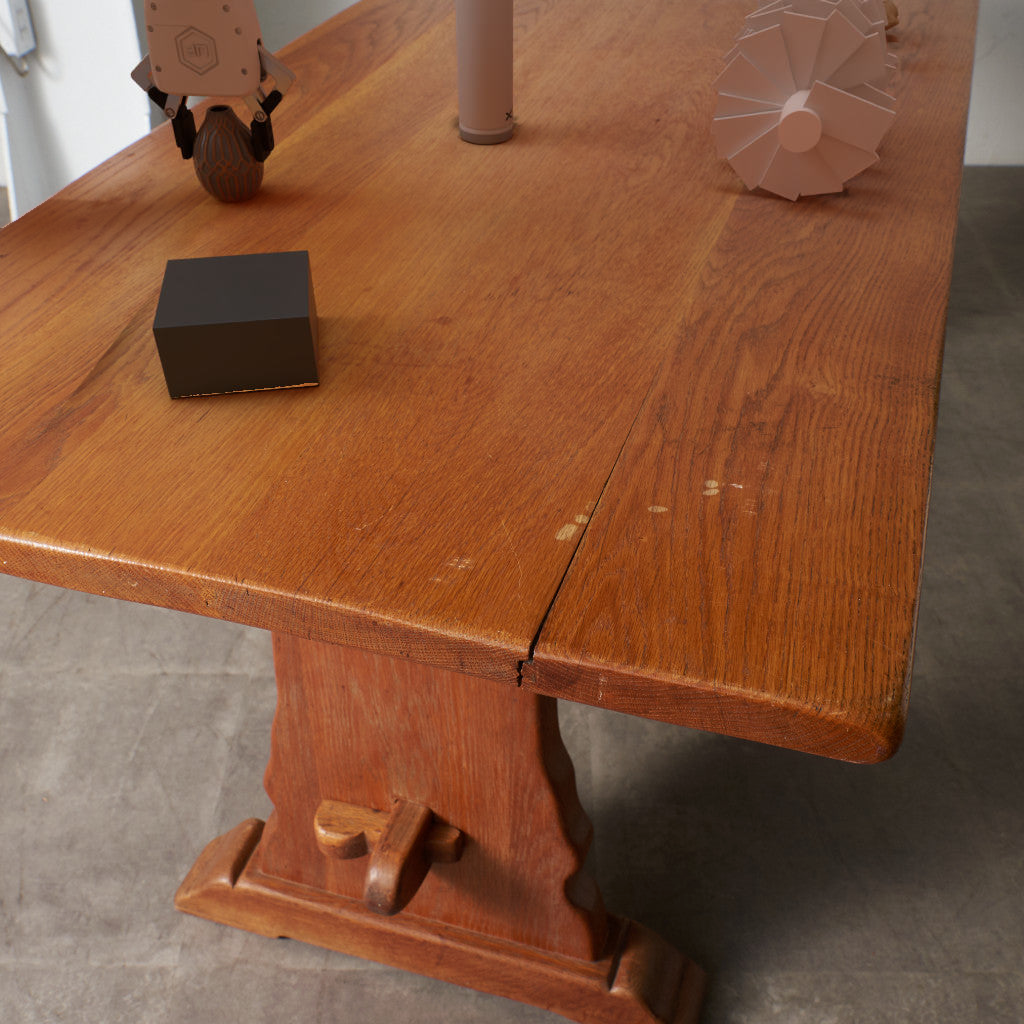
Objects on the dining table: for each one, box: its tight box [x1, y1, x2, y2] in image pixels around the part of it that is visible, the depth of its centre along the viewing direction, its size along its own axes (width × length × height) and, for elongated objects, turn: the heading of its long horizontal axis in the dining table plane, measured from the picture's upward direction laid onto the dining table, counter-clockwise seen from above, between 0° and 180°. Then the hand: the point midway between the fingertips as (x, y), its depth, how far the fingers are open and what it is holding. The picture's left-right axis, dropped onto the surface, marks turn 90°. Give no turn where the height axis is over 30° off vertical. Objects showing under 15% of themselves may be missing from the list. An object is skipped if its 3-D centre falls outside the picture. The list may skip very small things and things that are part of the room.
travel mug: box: [454, 0, 514, 145], centre depth 111 cm, size 6×7×20 cm
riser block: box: [151, 249, 320, 399], centre depth 78 cm, size 11×11×6 cm
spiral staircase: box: [709, 0, 898, 202], centre depth 105 cm, size 18×18×25 cm
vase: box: [192, 104, 265, 203], centre depth 102 cm, size 7×7×9 cm
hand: (227, 154), depth 102 cm, fingers closed on vase, 6 cm apart
